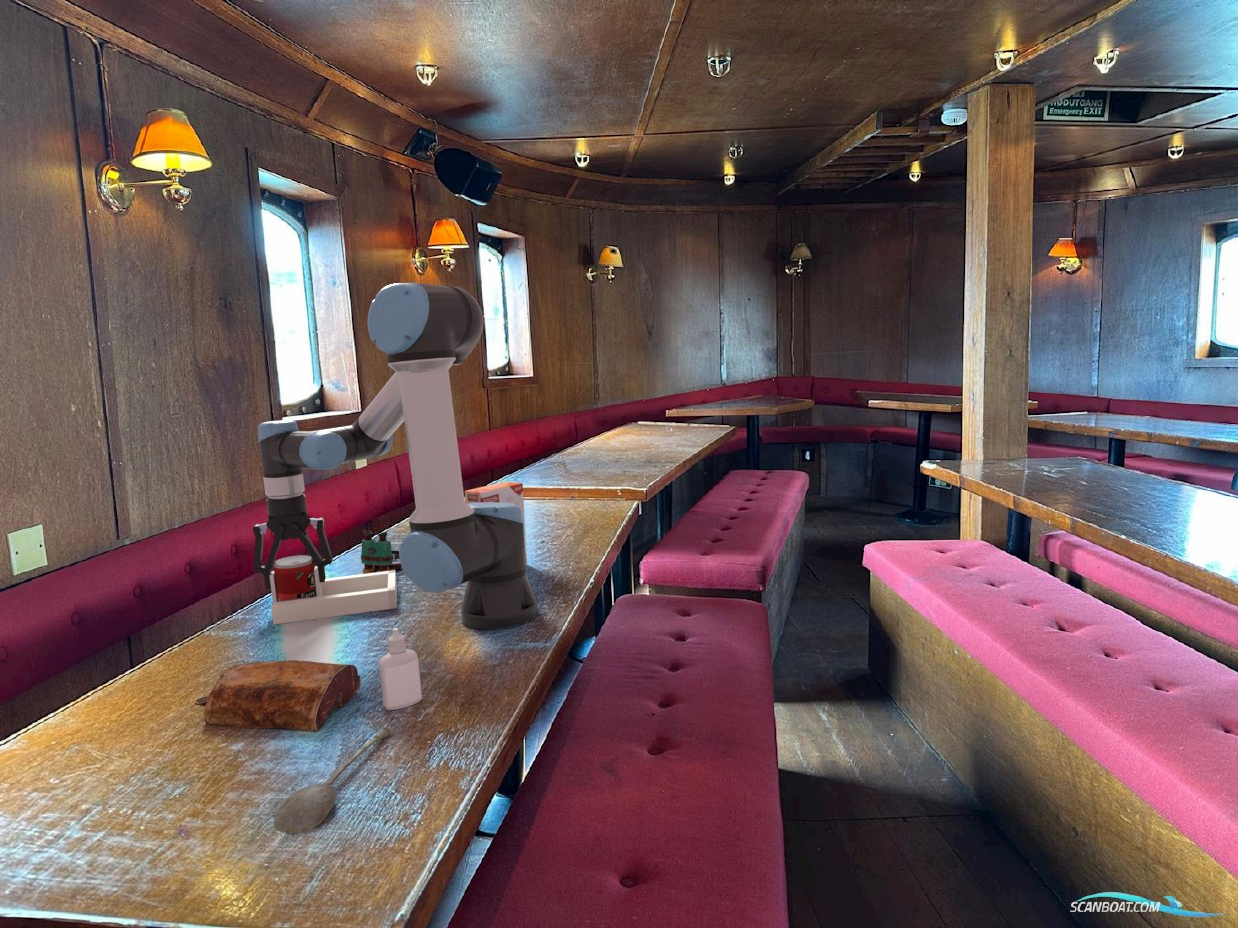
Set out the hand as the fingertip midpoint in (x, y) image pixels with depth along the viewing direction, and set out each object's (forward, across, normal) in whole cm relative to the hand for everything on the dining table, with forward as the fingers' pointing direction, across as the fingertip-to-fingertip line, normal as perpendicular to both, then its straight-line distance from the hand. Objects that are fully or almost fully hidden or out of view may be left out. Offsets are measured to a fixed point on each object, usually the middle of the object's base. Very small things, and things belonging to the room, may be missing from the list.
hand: (298, 599), depth 158 cm
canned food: (+3, 0, 0) cm, 3 cm away
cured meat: (+3, -1, +44) cm, 44 cm away
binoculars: (+3, -17, -23) cm, 29 cm away
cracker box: (+3, -44, -10) cm, 45 cm away
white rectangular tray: (+2, -8, 0) cm, 8 cm away
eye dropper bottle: (+2, -21, +53) cm, 57 cm away
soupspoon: (+3, -14, +71) cm, 73 cm away
